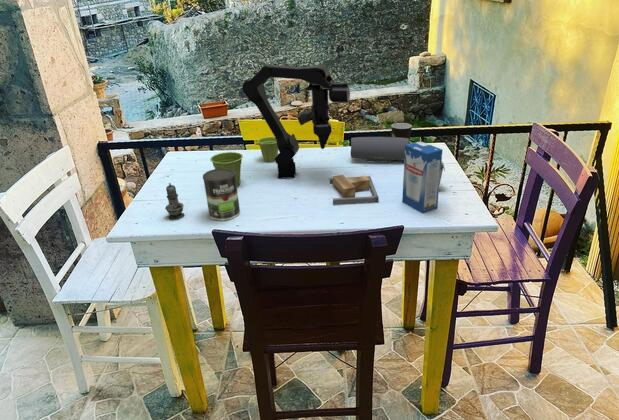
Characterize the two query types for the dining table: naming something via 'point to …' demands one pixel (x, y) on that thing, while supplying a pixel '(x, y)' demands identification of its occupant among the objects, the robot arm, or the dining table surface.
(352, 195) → the t block
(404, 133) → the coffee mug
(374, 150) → the bluetooth speaker
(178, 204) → the grey tall tiered piece
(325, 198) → the dining table surface
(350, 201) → the fence pocket
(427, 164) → the milk carton
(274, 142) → the plant pot
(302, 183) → the dining table surface
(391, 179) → the dining table surface
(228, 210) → the coffee can
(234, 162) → the plant pot
